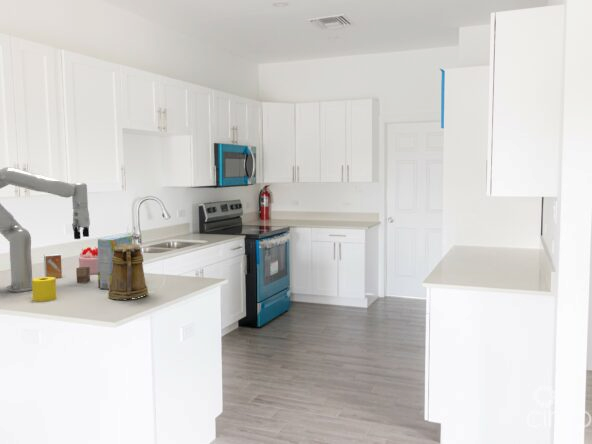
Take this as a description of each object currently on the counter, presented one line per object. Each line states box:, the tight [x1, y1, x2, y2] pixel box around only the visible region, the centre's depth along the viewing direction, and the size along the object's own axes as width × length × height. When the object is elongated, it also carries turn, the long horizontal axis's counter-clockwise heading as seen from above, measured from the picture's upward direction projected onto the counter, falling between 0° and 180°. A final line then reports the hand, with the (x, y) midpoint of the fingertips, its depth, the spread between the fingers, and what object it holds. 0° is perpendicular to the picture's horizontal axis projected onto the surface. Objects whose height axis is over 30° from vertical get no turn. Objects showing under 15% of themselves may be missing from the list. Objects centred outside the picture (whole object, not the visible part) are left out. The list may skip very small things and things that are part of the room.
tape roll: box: [32, 276, 57, 302], centre depth 250 cm, size 10×10×9 cm
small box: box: [43, 253, 63, 279], centre depth 299 cm, size 8×6×13 cm
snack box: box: [97, 234, 133, 290], centre depth 278 cm, size 22×9×26 cm, turn 168°
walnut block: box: [75, 267, 91, 284], centre depth 287 cm, size 5×5×8 cm
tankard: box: [108, 243, 149, 301], centre depth 251 cm, size 18×24×25 cm
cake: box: [78, 246, 98, 275], centre depth 317 cm, size 20×20×14 cm
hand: (81, 237), depth 285 cm, fingers open, 9 cm apart
